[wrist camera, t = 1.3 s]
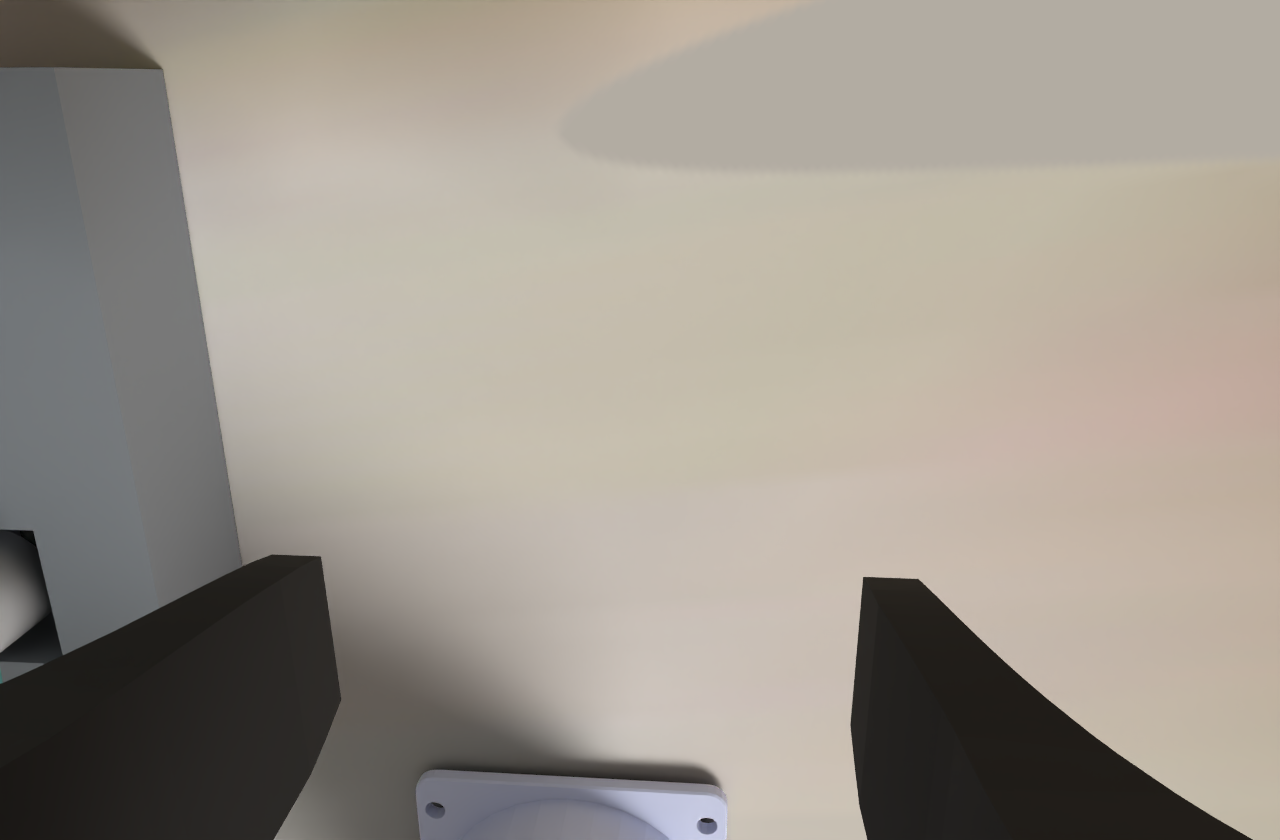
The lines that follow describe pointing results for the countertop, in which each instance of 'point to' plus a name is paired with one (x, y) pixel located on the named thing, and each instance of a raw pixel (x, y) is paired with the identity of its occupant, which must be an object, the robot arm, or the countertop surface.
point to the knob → (20, 589)
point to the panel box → (102, 359)
